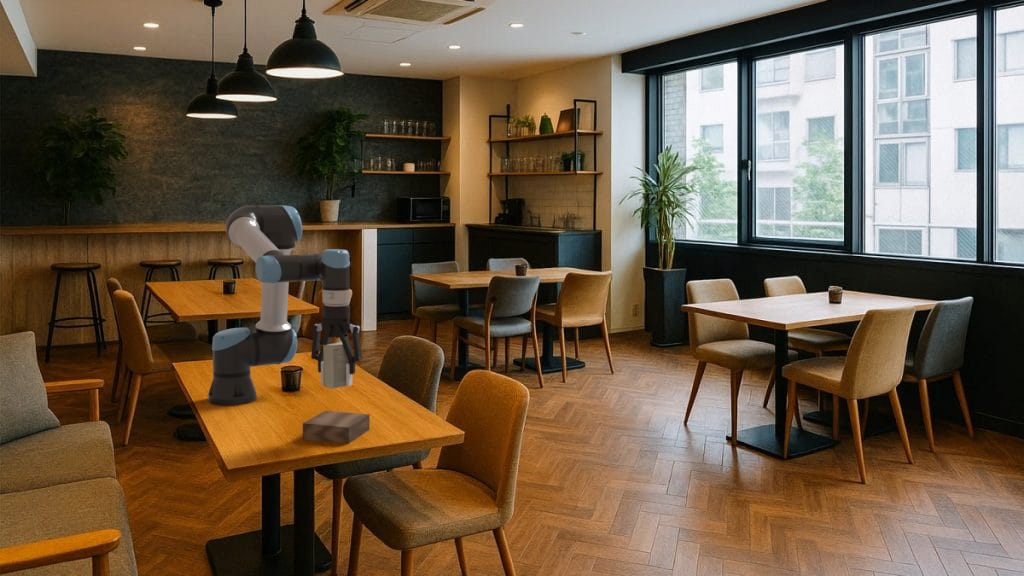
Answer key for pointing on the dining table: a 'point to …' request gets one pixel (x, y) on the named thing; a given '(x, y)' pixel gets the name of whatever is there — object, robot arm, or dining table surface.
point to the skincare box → (334, 365)
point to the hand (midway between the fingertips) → (336, 384)
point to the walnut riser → (336, 427)
